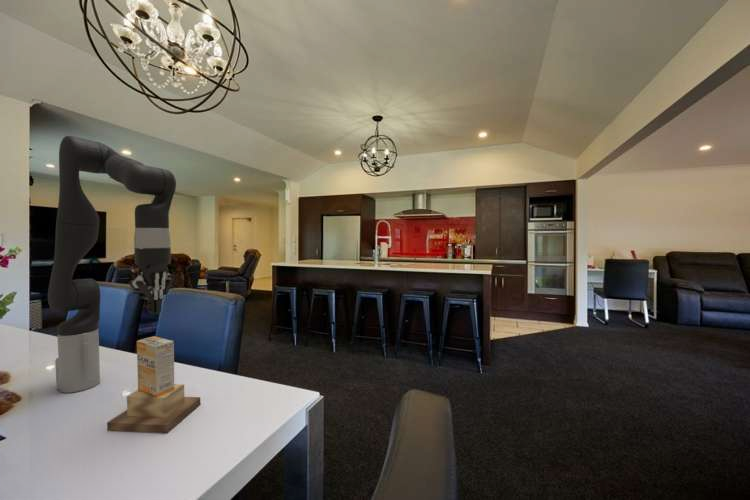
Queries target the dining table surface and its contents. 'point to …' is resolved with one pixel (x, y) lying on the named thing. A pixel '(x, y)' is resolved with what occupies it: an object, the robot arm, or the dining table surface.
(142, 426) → the board
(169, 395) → the oak block
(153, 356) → the supplement box
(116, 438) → the dining table surface
